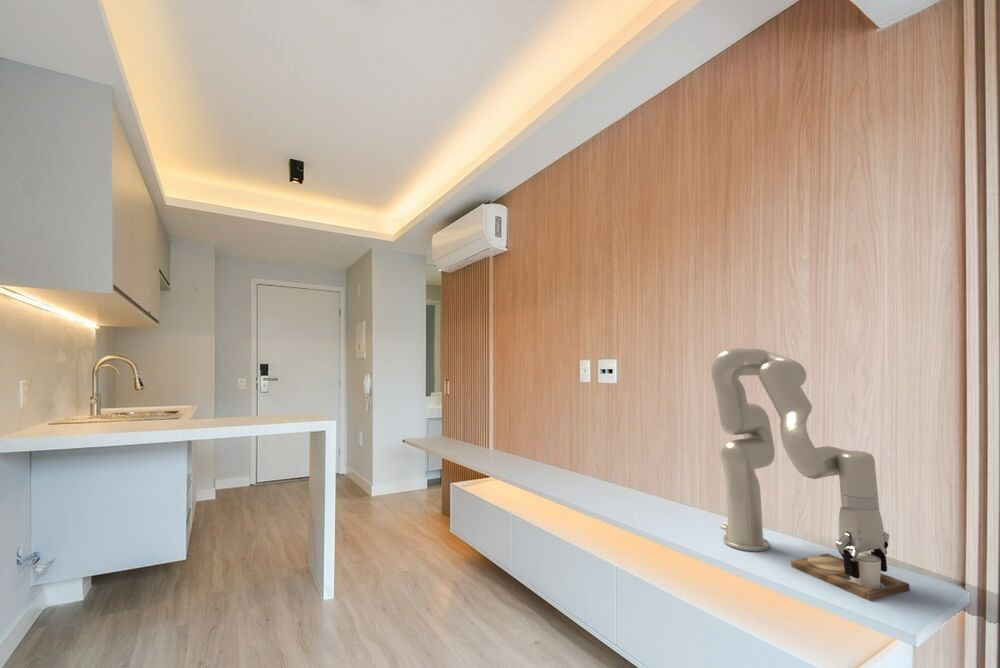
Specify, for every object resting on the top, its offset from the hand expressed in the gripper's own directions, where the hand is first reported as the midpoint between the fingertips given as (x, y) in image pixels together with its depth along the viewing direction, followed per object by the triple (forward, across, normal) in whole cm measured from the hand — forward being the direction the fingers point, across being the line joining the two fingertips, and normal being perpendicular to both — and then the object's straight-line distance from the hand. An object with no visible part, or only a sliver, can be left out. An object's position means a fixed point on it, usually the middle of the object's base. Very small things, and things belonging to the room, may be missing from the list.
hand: (866, 572), depth 116 cm
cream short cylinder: (+3, 0, 0) cm, 3 cm away
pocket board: (+3, 0, -5) cm, 6 cm away
